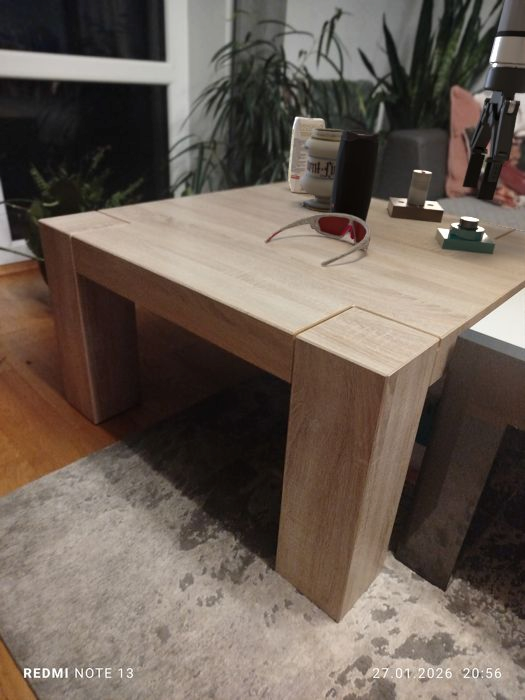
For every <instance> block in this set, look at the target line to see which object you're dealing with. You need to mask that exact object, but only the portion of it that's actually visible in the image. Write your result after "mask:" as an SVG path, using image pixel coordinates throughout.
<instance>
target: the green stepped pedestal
mask: <svg viewBox="0 0 525 700" xmlns="http://www.w3.org/2000/svg"><path fill="white" fill-rule="evenodd" d="M458 226H459V222H452V223H451V224H450V226H449V229H448V228H441V227H440V228H438V227H437V228H436V232H435V236H434V239H435V241H436V242H437V244H438V245H439V247H440V249H442V250H448V251H457V252H458V251H459V252H466V253H467V252H468V253H474V254H475V253H477V254H487V255H493V254H494V250H495V246H496V243H495V242H494V241H493V239H491V238H490V237H489V235H487V233H486V232H485V231H486V229H485V228H484V227H482V226H479V225H478V227H477V230H467V229H463V228H460V227H458Z"/></svg>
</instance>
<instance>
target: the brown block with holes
mask: <svg viewBox="0 0 525 700" xmlns="http://www.w3.org/2000/svg"><path fill="white" fill-rule="evenodd" d="M407 199H408V198H402V197H392V196H389V197H388V202H387V208H386V209H387V212H388V214H389V216H390V218H391V219H399V220H401V219H402V220H410V221H419V222H429V223H439V224H441V223H442V220H443V217H444V212H445V210H444V208H443V207H442V206H441V204H439V202H437V201H433V200H432V201H431V200H426V202H425V205H413V204H409V203H407Z"/></svg>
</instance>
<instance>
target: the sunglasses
mask: <svg viewBox="0 0 525 700" xmlns="http://www.w3.org/2000/svg"><path fill="white" fill-rule="evenodd" d="M305 225H309V226H310V228H311V229H312V230H314V231H315V232H316V233H317V234H319V235H322V236H325V237H328V238H330V239H331V238H332V239H335V240H340V239H342V238H344V237H345V236H347V235H346V234H348V233H350V234H349V235H350V236H349V237H350V239H351V240H353V245H354V246H353V247H351V248H349V249H348V250H346V251H345V252H343V253H340V254H339V255H336V256H335V257H331V258H329V259H327V260H323V261H322V262H321V263H320V265H321V266H328V265H330V264H332V263H335V262H336V261H339V260H341V259H343V258H345V257H347V256H349V255H351V254H354V253H356V252H358V251H360V250H366V251H367V250H368V249H369V246H370V242H371V237H372V236H371V234H372V233H371V227H370V226H369V224H368V223H367V221H366V222H365V221H363V220H362V219H360V218H358V217H355V216H352V215H348V214H341V213H330V212H324V213H323V212H322V213H317V214H312V215H308V216H305V217H301V218H299V219H296V220H294V221H292V222H289V223H288V224H286V225H284V226H283V227H280V228H279V229H276V230H275V231H274V232H272V233H271V234H270V235H269V236H267V237H266V239H264V243H265V244H266V243H267V244H268V243H270V241H271V240H272V239H273V238H274V237H275V236H277V235H278V234H280V233H282V232H284V231H286V230H289V229H292V228H295V227H299V226H300V227H301V226H305ZM350 229H351V231H349V230H350Z"/></svg>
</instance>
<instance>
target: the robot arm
mask: <svg viewBox="0 0 525 700" xmlns="http://www.w3.org/2000/svg"><path fill="white" fill-rule="evenodd" d="M503 3H504V4H503V7H502V11H501V15H500V19H499V23H498V27H497V31H496V35H495V37H494V41H493V45H492V48H491V53H490V57H489V61H488V63H489V64H490V65H491V66H490V67H488V69H486V74H485V78H484V81H483V82H484V83H483V85H482V89H483V90H484V91H487V92H492V94H491V97H485V99H484V101H483V104H482V105H483V106H482V110H481V113H480V114H479V118H478V121H477V123H476V125H475V130H474V132H473V135H472V138H471V141H470V143H469V149H470V156H469V160H468V163H467V166H466V171H465V174H464V179H463V183H462V187H463V188H471V189H477V188H479V189H478V192H477V195H476V199H477V200H485V201H493V200H494V196H495V193H496V189H497V187H498V183H499V179H500V176H501V173H502V169H503V166H504V164H505V162H509V161H510V159H511V152H512V146H513V140H514V135H515V129H516V124H517V123H516V122H517V116H518V113H519V110H520V107H521V100H515V97H516V94H521V95H523V94H525V0H504V2H503ZM489 144H490V146H489ZM488 146H489V148H490V149H489V150H488ZM488 154H489V156H487V157H486V155H488ZM484 163H485V166H483V165H484ZM483 167H484V169H483ZM482 170H483V173H482ZM481 174H482V176H481ZM480 177H481V180H480ZM479 180H480V184H479ZM478 184H479V187H478Z"/></svg>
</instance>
